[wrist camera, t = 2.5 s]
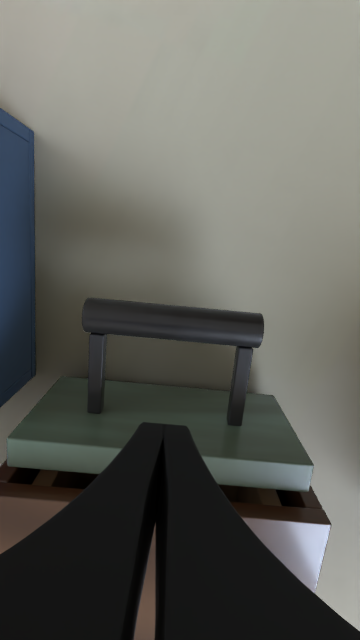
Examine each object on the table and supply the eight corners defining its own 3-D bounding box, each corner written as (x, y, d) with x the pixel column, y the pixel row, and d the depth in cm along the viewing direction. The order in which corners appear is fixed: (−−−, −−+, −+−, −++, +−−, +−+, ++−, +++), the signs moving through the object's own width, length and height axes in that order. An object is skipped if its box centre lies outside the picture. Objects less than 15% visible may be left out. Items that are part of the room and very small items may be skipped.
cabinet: (55, 396, 19) (-24, 494, 12) (275, 416, 19) (332, 524, 12) (54, 585, 22) (-9, 753, 15) (243, 600, 22) (272, 774, 15)
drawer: (62, 282, 17) (1, 304, 11) (289, 303, 17) (342, 336, 11) (58, 565, 21) (13, 685, 15) (241, 580, 21) (263, 705, 15)
